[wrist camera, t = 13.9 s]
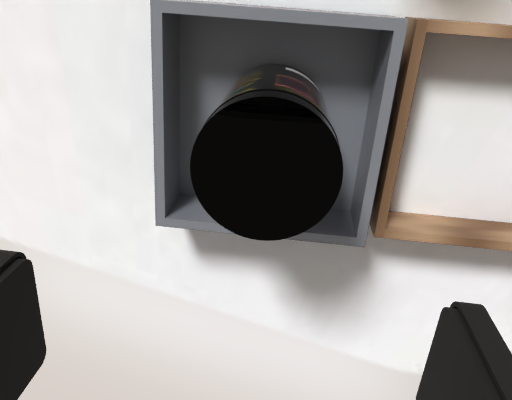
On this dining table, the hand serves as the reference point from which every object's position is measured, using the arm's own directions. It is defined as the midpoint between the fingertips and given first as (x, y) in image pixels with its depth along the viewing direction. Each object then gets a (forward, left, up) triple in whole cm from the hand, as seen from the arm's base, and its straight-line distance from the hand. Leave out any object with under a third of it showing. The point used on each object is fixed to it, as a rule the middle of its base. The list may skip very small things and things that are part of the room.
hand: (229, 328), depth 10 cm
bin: (0, 0, -21) cm, 21 cm away
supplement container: (0, 0, -21) cm, 21 cm away
